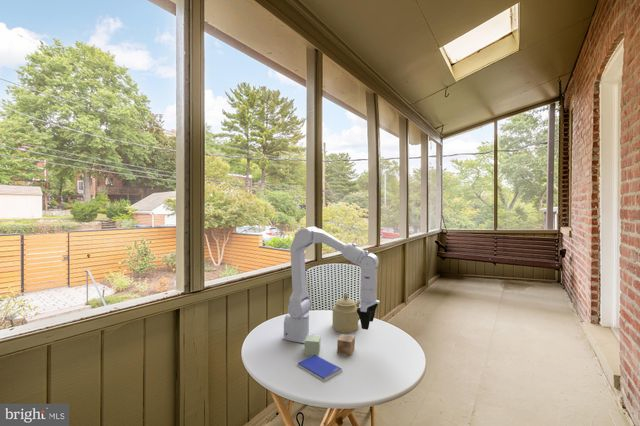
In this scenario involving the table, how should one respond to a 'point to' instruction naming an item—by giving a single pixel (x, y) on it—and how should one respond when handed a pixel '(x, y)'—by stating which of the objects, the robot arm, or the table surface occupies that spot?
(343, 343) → the walnut cube
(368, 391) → the table surface
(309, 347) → the sage cube
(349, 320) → the beige teapot
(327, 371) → the hard drive
